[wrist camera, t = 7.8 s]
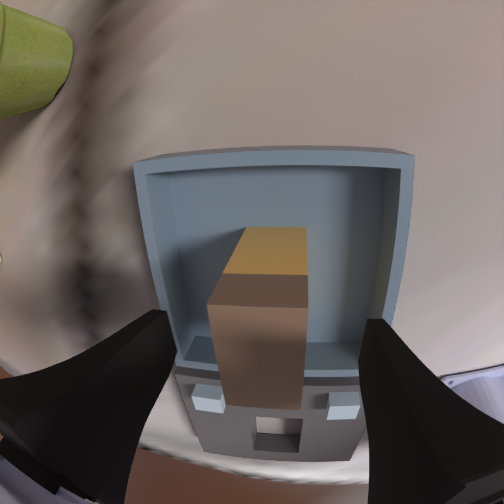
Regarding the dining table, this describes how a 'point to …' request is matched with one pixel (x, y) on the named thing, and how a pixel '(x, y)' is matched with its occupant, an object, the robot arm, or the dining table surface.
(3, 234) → the dining table surface
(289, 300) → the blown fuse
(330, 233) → the parts tray
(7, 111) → the plant pot
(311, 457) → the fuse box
